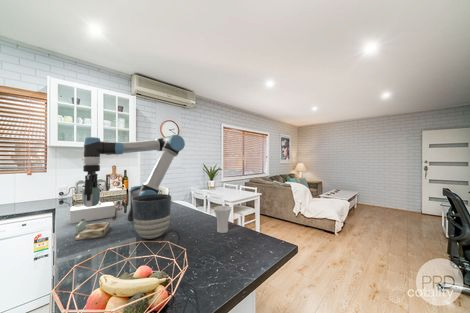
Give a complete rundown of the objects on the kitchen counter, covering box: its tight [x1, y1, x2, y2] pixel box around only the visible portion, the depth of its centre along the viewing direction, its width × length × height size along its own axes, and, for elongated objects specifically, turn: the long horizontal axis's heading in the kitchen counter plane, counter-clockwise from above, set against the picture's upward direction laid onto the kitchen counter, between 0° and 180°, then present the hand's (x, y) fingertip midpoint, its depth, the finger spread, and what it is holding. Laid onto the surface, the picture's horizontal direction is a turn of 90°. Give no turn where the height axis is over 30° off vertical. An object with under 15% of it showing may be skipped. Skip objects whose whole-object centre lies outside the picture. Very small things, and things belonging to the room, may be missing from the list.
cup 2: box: [213, 205, 232, 234], centre depth 113 cm, size 10×10×14 cm
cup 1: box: [81, 186, 101, 207], centre depth 109 cm, size 8×8×10 cm
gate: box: [75, 218, 86, 235], centre depth 113 cm, size 1×12×6 cm, turn 23°
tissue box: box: [69, 200, 116, 224], centre depth 139 cm, size 14×25×11 cm, turn 129°
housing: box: [74, 221, 111, 241], centre depth 109 cm, size 13×14×4 cm
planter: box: [132, 193, 172, 240], centre depth 105 cm, size 20×20×21 cm
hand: (91, 204), depth 109 cm, fingers closed on cup 1, 8 cm apart
